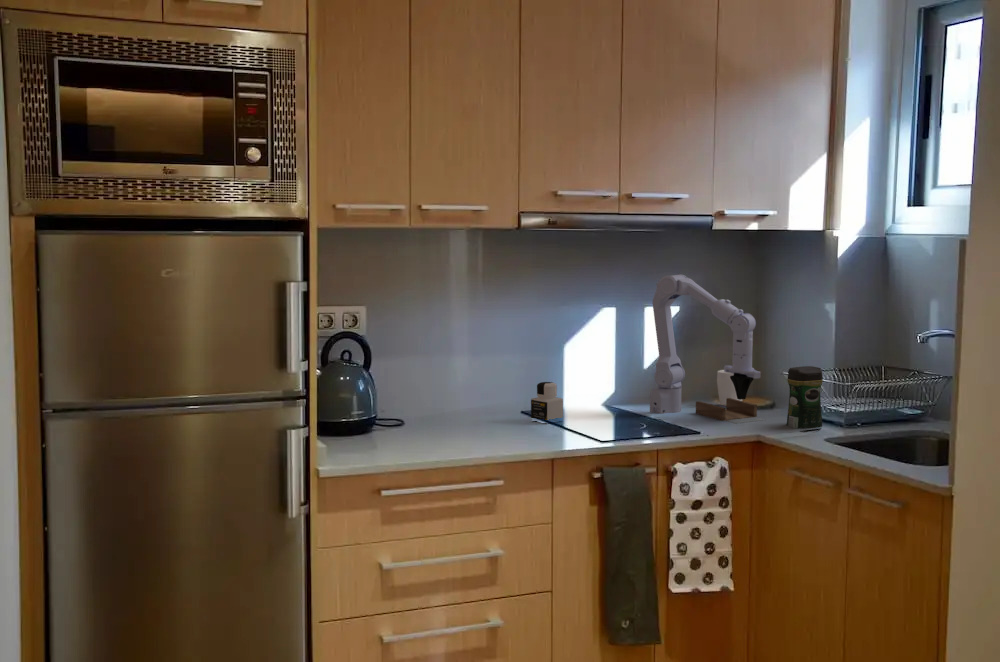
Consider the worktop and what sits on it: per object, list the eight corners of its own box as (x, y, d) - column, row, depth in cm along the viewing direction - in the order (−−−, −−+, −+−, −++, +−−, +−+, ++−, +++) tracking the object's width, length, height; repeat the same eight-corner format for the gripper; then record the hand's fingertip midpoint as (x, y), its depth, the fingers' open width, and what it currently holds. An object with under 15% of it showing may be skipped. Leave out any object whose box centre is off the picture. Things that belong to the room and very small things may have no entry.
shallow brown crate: (722, 424, 293) (722, 408, 292) (695, 417, 304) (695, 401, 304) (756, 420, 298) (756, 404, 298) (729, 413, 310) (729, 398, 309)
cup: (727, 404, 326) (728, 368, 324) (750, 408, 319) (751, 371, 318) (710, 407, 320) (711, 371, 319) (733, 411, 313) (734, 374, 312)
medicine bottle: (530, 421, 301) (530, 382, 300) (547, 418, 306) (546, 380, 304) (547, 424, 296) (546, 385, 294) (563, 421, 300) (563, 382, 299)
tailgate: (724, 423, 293) (736, 426, 288) (724, 420, 293) (736, 423, 288) (754, 420, 298) (766, 423, 293) (754, 416, 298) (766, 419, 293)
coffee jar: (809, 425, 290) (811, 363, 288) (826, 431, 283) (828, 367, 281) (781, 428, 287) (782, 365, 285) (797, 433, 280) (799, 369, 278)
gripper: (769, 356, 288) (768, 401, 290) (737, 350, 301) (736, 394, 303) (750, 357, 285) (748, 403, 287) (719, 351, 298) (718, 395, 300)
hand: (741, 399), depth 295 cm, fingers closed
